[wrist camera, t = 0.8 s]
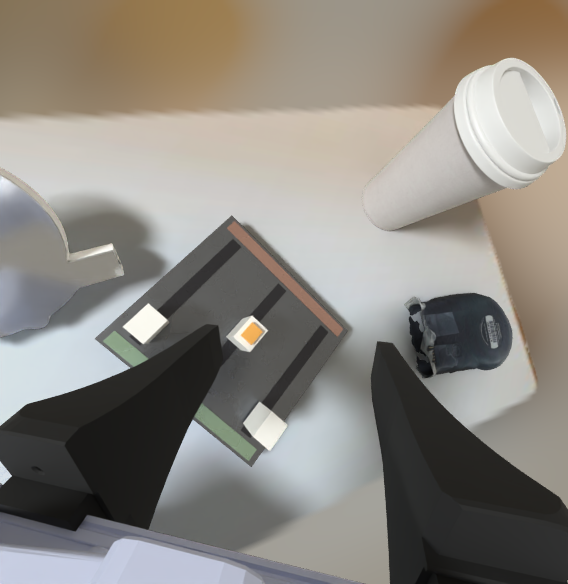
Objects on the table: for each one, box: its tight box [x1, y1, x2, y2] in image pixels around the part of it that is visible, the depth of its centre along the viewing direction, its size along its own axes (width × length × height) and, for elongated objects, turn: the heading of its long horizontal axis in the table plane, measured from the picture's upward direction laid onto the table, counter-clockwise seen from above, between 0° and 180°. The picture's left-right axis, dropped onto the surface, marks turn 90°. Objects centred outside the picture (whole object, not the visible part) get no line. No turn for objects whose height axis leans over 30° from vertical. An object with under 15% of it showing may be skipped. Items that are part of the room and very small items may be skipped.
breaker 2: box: [243, 402, 288, 451], centre depth 21 cm, size 2×2×3 cm
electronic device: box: [404, 293, 512, 378], centre depth 33 cm, size 9×6×15 cm
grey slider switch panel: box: [95, 216, 347, 467], centre depth 24 cm, size 14×15×2 cm
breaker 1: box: [123, 303, 169, 344], centre depth 19 cm, size 2×2×3 cm
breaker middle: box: [226, 316, 268, 352], centre depth 21 cm, size 2×2×4 cm
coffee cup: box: [362, 58, 566, 231], centre depth 26 cm, size 10×10×15 cm
